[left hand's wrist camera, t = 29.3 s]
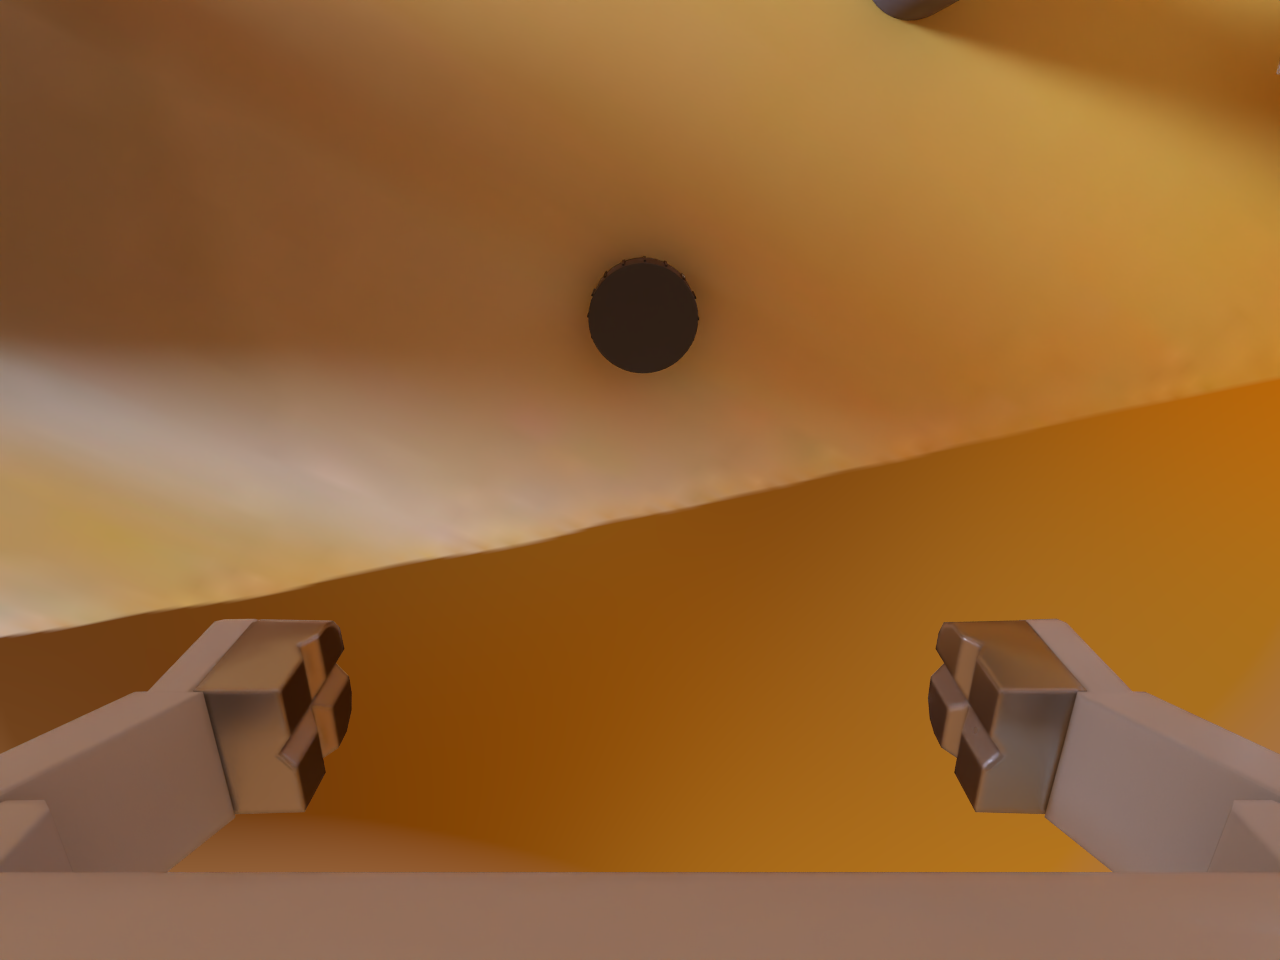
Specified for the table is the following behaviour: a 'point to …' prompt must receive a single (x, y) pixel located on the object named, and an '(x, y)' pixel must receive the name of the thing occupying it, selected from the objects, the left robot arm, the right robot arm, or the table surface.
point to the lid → (643, 315)
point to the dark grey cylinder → (912, 8)
